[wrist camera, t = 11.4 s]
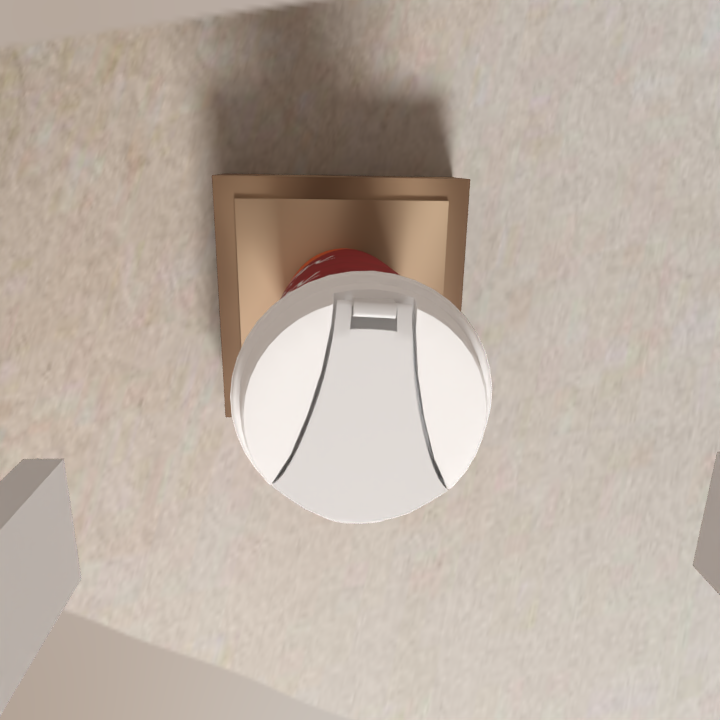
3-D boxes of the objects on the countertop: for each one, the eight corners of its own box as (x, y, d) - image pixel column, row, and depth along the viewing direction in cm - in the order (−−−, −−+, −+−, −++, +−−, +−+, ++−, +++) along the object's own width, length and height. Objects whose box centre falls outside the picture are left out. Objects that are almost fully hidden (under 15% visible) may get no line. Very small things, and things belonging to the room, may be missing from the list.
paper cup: (266, 219, 28) (224, 270, 15) (428, 230, 29) (524, 288, 16) (263, 377, 31) (223, 541, 17) (412, 383, 31) (484, 546, 18)
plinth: (452, 177, 32) (471, 179, 28) (439, 388, 36) (454, 415, 32) (223, 173, 31) (211, 175, 28) (234, 390, 35) (225, 418, 31)
